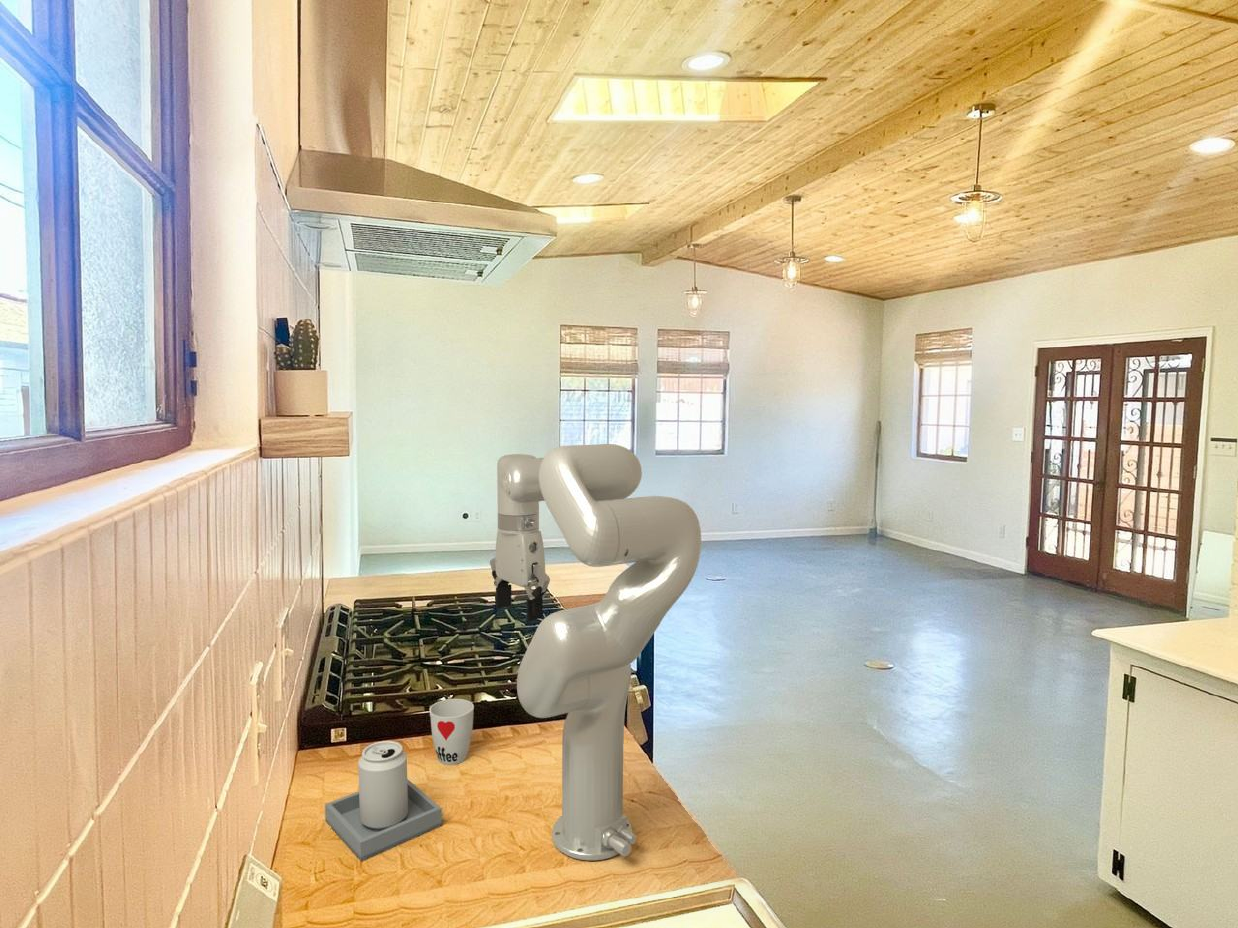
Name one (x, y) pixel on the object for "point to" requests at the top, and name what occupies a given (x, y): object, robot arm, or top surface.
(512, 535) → the robot arm
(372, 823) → the can
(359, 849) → the bin
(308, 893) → the top surface
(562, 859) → the top surface
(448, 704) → the cup
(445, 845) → the top surface
